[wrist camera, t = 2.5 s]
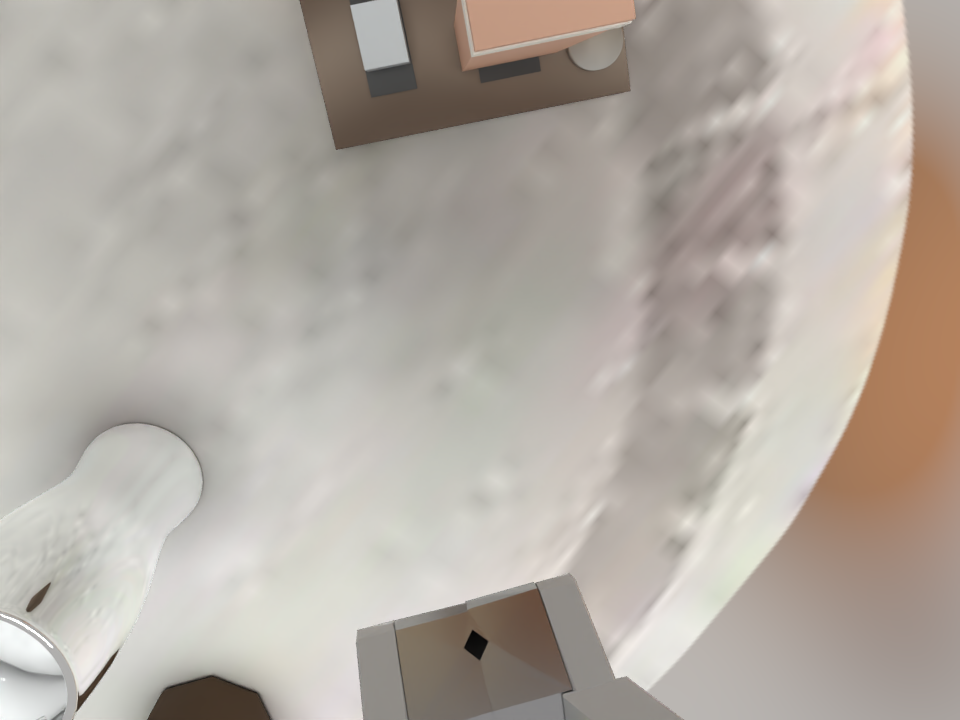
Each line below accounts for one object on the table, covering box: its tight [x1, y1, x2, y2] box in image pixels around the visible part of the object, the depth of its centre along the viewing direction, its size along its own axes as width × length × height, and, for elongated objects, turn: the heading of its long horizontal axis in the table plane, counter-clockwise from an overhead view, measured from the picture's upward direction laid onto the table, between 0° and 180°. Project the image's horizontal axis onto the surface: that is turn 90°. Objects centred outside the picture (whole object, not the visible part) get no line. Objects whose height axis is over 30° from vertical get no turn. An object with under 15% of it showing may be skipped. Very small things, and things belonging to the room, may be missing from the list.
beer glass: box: [0, 423, 203, 720], centre depth 32 cm, size 7×7×15 cm
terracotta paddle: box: [454, 0, 636, 72], centre depth 25 cm, size 2×4×14 cm, turn 101°
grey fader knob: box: [350, 0, 410, 72], centre depth 30 cm, size 2×2×2 cm
